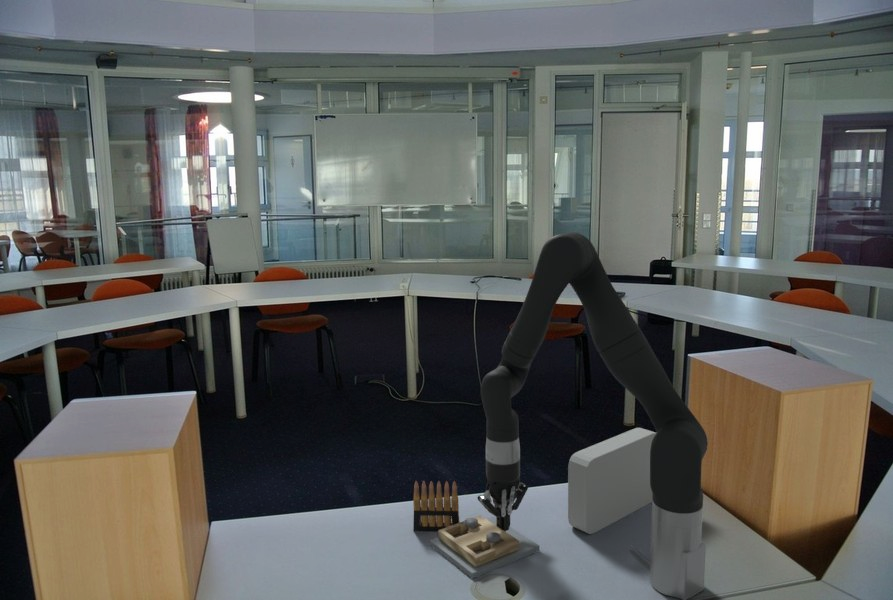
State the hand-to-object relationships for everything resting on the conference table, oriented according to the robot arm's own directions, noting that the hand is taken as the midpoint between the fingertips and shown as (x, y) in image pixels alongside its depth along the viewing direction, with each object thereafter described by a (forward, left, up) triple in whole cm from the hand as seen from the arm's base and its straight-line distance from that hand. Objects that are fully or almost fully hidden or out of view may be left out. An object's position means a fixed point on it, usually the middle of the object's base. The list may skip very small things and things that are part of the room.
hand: (503, 529), depth 149 cm
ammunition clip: (+13, +10, -3) cm, 16 cm away
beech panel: (0, +7, -1) cm, 7 cm away
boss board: (0, +6, -2) cm, 6 cm away
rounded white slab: (-6, -29, -3) cm, 30 cm away
